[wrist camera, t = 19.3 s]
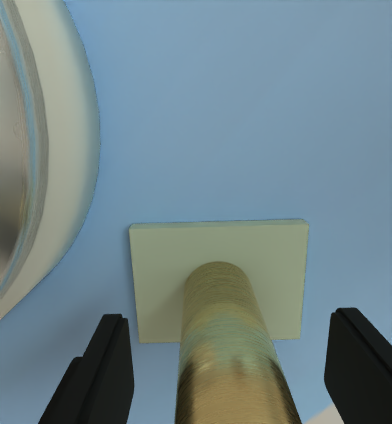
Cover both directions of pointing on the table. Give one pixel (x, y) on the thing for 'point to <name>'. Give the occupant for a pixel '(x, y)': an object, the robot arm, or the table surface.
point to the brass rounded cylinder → (228, 354)
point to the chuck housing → (60, 138)
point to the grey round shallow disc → (19, 146)
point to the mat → (226, 252)
